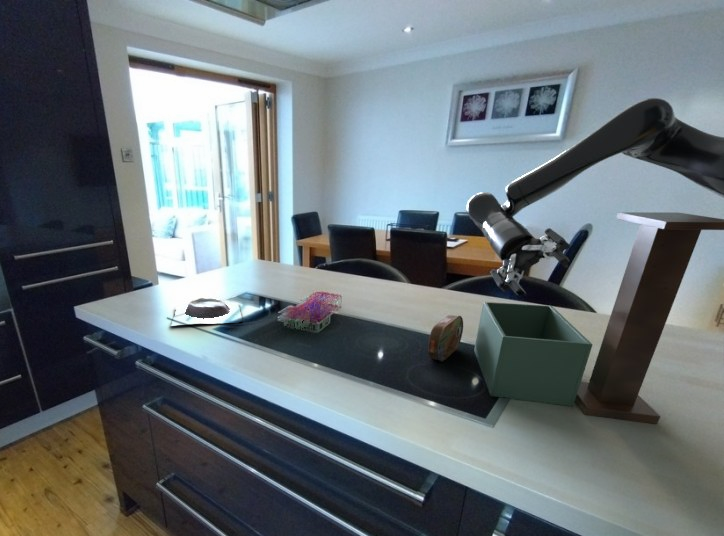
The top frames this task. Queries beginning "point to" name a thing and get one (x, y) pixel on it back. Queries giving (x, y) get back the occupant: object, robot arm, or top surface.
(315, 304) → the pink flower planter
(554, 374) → the bin
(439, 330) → the tin
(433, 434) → the top surface
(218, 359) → the top surface
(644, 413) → the stand
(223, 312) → the dark grey round dish
